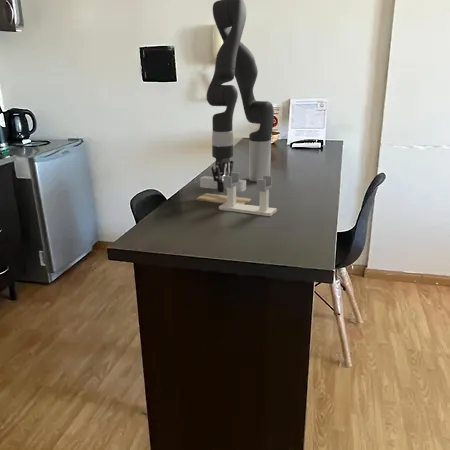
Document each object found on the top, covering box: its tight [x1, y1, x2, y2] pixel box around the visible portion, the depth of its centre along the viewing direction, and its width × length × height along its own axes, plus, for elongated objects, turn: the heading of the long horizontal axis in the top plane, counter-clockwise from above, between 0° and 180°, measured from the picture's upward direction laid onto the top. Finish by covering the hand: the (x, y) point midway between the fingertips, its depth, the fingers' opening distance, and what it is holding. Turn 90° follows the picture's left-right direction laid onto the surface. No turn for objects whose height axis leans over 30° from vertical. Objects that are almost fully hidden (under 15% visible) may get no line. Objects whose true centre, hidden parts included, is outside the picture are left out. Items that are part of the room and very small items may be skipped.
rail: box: [199, 175, 247, 193], centre depth 165 cm, size 4×17×4 cm, turn 64°
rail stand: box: [218, 171, 278, 217], centre depth 153 cm, size 7×19×12 cm, turn 64°
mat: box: [195, 192, 252, 205], centre depth 167 cm, size 8×19×1 cm, turn 64°
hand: (223, 190), depth 166 cm, fingers closed on rail, 3 cm apart
